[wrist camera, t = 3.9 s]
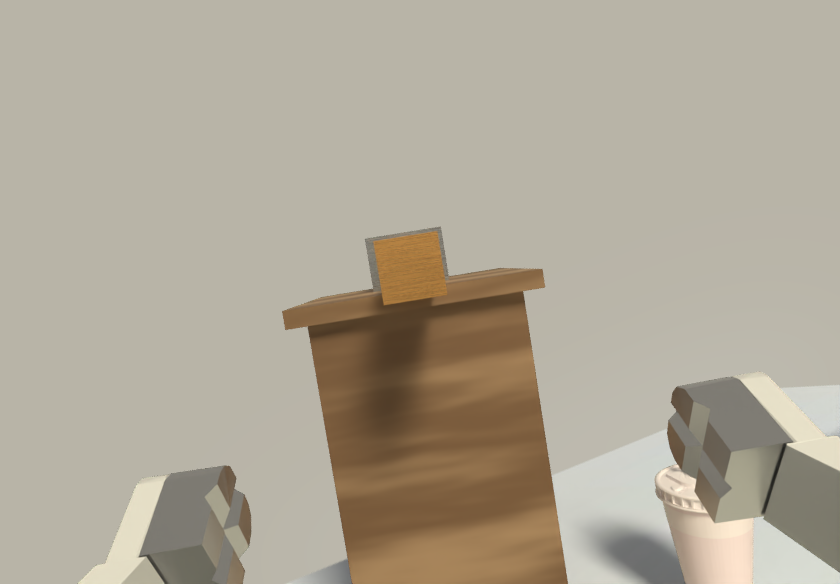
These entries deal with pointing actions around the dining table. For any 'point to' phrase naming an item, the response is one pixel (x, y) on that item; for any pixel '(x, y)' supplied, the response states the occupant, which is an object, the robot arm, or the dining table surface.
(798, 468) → the robot arm
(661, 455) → the dining table surface
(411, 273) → the mallet
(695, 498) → the smoothie
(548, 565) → the stand
